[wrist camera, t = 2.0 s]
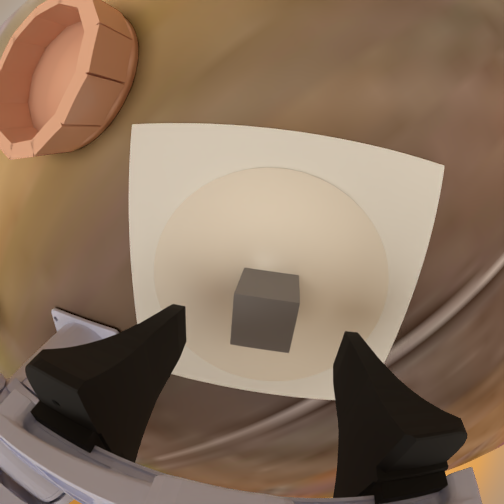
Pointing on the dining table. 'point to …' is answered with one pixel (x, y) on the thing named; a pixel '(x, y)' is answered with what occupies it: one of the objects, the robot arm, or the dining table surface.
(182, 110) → the dining table surface
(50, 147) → the bowl
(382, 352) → the mat
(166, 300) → the lid
